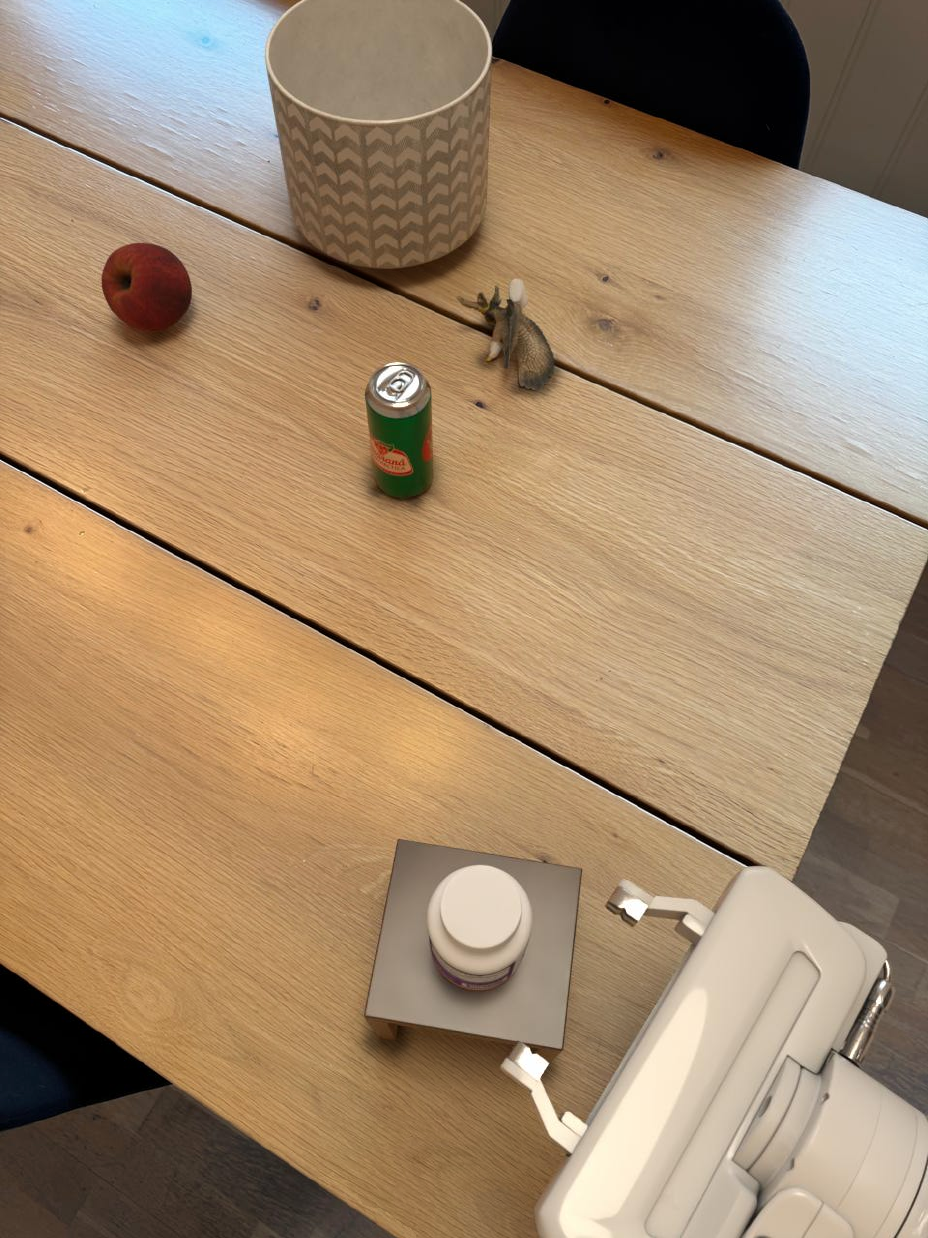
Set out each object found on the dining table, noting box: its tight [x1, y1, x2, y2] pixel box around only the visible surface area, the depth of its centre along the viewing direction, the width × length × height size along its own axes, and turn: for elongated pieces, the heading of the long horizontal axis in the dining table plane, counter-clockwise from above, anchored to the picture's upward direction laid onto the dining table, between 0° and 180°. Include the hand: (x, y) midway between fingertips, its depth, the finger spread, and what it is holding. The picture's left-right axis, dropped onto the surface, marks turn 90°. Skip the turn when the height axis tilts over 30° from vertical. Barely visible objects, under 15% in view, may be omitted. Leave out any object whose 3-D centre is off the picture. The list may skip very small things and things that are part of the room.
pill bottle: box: [427, 865, 532, 990], centre depth 53 cm, size 5×5×10 cm
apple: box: [101, 242, 193, 333], centre depth 91 cm, size 7×8×8 cm
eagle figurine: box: [456, 278, 555, 391], centre depth 91 cm, size 8×7×9 cm
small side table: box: [363, 838, 583, 1064], centre depth 63 cm, size 11×10×12 cm
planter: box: [264, 0, 493, 270], centre depth 93 cm, size 19×19×18 cm
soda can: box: [364, 361, 435, 499], centre depth 82 cm, size 5×5×12 cm
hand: (562, 970), depth 50 cm, fingers open, 8 cm apart
